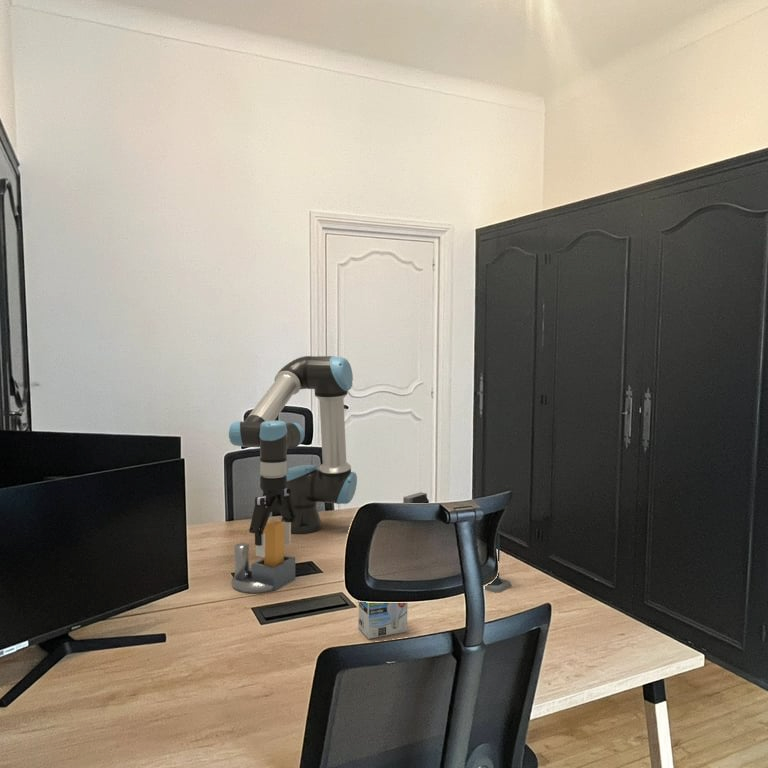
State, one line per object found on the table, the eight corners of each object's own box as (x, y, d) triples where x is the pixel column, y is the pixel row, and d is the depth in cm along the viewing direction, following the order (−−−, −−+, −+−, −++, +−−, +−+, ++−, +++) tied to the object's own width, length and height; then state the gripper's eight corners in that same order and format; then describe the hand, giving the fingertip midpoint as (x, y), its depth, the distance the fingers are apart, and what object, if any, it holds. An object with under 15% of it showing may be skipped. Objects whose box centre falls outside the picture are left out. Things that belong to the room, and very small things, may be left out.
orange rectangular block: (272, 573, 186) (272, 520, 185) (283, 576, 184) (283, 522, 183) (264, 578, 183) (263, 523, 182) (275, 580, 181) (275, 525, 180)
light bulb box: (368, 640, 149) (368, 595, 148) (357, 628, 155) (357, 585, 154) (408, 631, 154) (409, 588, 153) (396, 620, 160) (396, 578, 159)
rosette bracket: (254, 570, 193) (254, 534, 192) (295, 579, 186) (295, 542, 185) (220, 587, 180) (220, 549, 179) (263, 597, 173) (263, 558, 172)
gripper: (287, 466, 194) (287, 536, 195) (235, 482, 172) (236, 560, 174) (307, 469, 190) (307, 540, 192) (257, 485, 169) (257, 564, 171)
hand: (273, 549), depth 183 cm, fingers open, 11 cm apart
